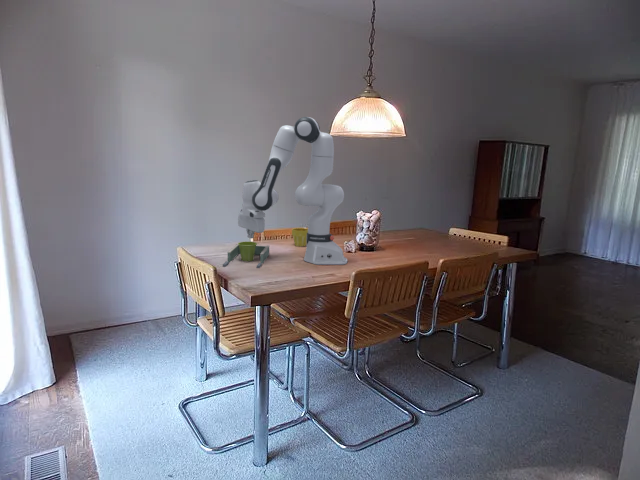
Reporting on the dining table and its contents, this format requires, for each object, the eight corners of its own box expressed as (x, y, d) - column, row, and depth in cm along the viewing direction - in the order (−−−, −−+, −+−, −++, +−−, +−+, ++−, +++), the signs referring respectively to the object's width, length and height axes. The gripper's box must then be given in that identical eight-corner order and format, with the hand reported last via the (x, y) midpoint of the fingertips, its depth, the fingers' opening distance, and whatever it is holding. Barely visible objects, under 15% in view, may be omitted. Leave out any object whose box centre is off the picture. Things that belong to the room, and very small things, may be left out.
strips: (261, 265, 211) (261, 263, 211) (259, 268, 205) (259, 266, 205) (225, 263, 211) (225, 261, 211) (222, 266, 205) (222, 264, 205)
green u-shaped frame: (269, 254, 234) (269, 245, 233) (262, 263, 214) (263, 253, 213) (236, 253, 234) (236, 244, 233) (227, 261, 214) (227, 252, 213)
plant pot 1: (253, 263, 214) (253, 245, 212) (235, 261, 216) (235, 244, 214) (259, 259, 223) (259, 242, 221) (242, 257, 225) (242, 240, 223)
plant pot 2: (288, 246, 257) (289, 229, 255) (295, 243, 267) (295, 227, 265) (305, 247, 254) (306, 231, 252) (311, 244, 264) (311, 228, 262)
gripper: (235, 208, 230) (234, 234, 233) (256, 215, 215) (255, 242, 219) (245, 208, 234) (245, 233, 237) (267, 214, 219) (266, 241, 223)
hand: (250, 237), depth 228 cm, fingers closed
